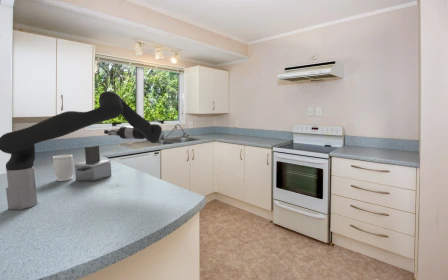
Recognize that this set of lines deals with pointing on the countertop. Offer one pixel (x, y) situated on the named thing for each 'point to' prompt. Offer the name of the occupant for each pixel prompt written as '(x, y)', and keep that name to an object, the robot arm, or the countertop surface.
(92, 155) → the lid
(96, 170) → the grey rectangular container
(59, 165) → the jar
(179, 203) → the countertop surface
